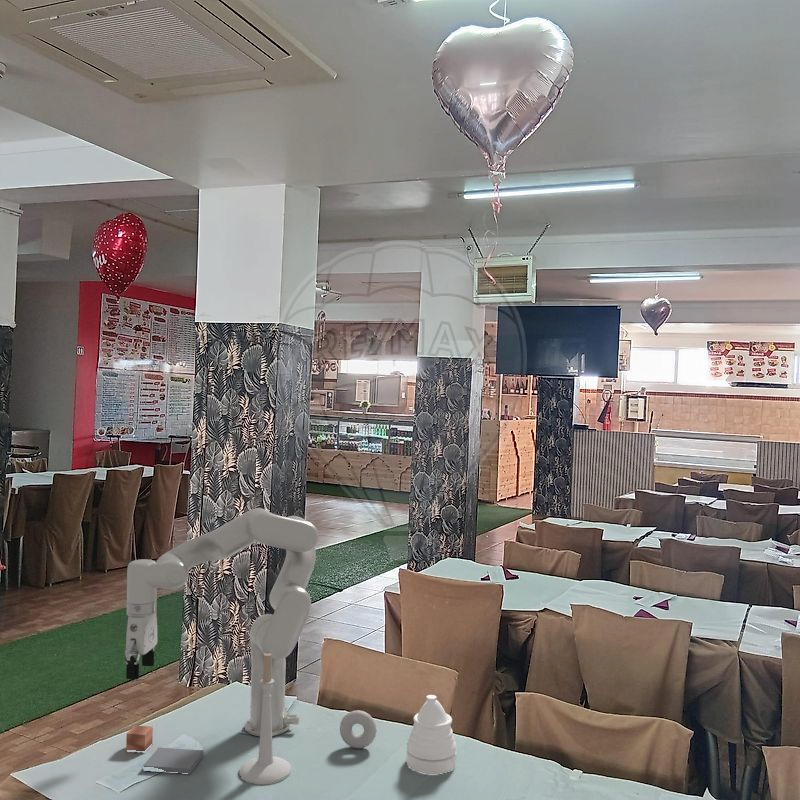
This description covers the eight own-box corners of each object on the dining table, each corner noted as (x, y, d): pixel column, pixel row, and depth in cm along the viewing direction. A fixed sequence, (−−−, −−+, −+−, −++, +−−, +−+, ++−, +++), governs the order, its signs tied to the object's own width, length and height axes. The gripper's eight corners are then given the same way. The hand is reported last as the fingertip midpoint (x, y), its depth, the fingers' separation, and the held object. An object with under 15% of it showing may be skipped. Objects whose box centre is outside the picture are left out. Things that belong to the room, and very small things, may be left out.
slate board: (203, 756, 205) (203, 750, 205) (189, 774, 196) (189, 768, 196) (158, 753, 207) (158, 747, 206) (142, 771, 197) (142, 765, 197)
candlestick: (241, 787, 190) (243, 663, 190) (237, 762, 202) (239, 645, 202) (294, 781, 193) (296, 659, 193) (287, 757, 206) (289, 642, 205)
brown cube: (152, 745, 211) (152, 726, 211) (144, 753, 206) (145, 734, 206) (134, 744, 212) (134, 725, 212) (126, 752, 207) (126, 733, 207)
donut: (377, 746, 213) (377, 709, 213) (375, 752, 210) (375, 714, 210) (340, 743, 214) (341, 706, 214) (338, 749, 211) (338, 712, 211)
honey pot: (452, 778, 197) (454, 706, 196) (401, 772, 199) (403, 701, 199) (459, 754, 209) (460, 687, 209) (411, 749, 212) (412, 682, 212)
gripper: (141, 617, 200) (140, 685, 200) (167, 599, 217) (166, 661, 217) (113, 616, 200) (112, 683, 200) (141, 598, 217) (140, 660, 218)
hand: (140, 672), depth 209 cm, fingers open, 9 cm apart
